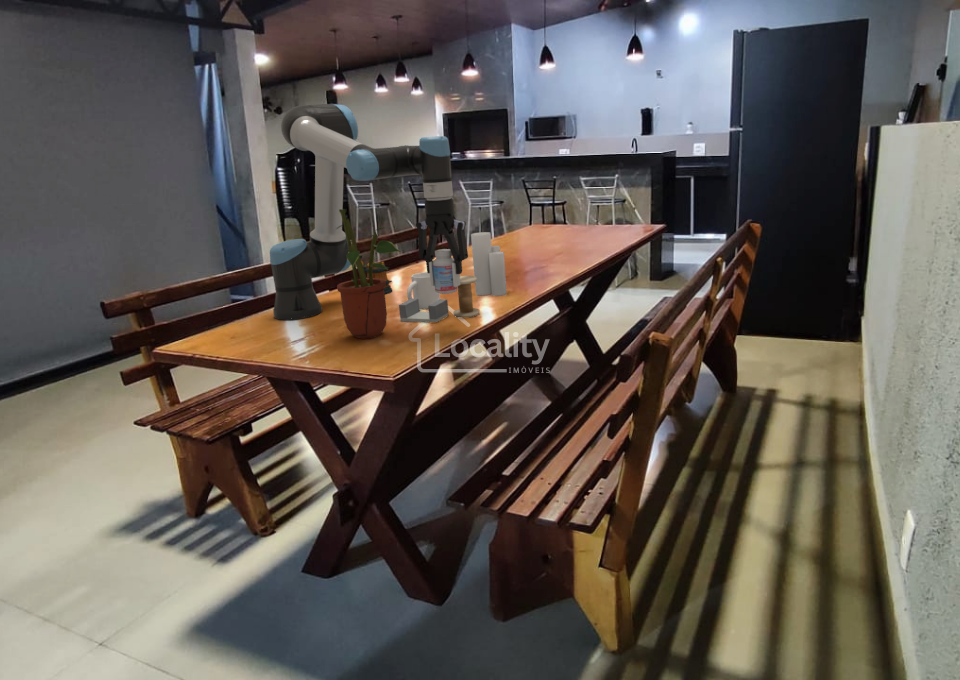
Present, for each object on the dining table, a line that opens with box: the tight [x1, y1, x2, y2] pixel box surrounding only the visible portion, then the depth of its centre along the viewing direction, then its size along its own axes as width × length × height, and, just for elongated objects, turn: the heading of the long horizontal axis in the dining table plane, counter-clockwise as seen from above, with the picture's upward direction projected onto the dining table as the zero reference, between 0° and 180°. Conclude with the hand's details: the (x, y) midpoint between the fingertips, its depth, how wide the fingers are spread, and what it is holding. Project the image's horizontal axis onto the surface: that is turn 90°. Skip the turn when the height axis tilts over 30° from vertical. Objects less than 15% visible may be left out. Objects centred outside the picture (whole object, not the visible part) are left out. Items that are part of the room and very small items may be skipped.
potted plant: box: [336, 208, 401, 340], centre depth 183 cm, size 17×16×35 cm
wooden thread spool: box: [453, 275, 480, 318], centre depth 199 cm, size 8×8×11 cm
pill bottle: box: [433, 248, 458, 295], centre depth 180 cm, size 6×6×11 cm
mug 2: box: [361, 260, 393, 296], centre depth 239 cm, size 13×10×12 cm
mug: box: [406, 271, 441, 310], centre depth 211 cm, size 12×8×10 cm
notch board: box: [398, 297, 450, 323], centre depth 199 cm, size 12×8×5 cm, turn 66°
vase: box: [470, 231, 508, 297], centre depth 222 cm, size 11×7×20 cm, turn 66°
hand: (445, 285), depth 181 cm, fingers closed on pill bottle, 6 cm apart
